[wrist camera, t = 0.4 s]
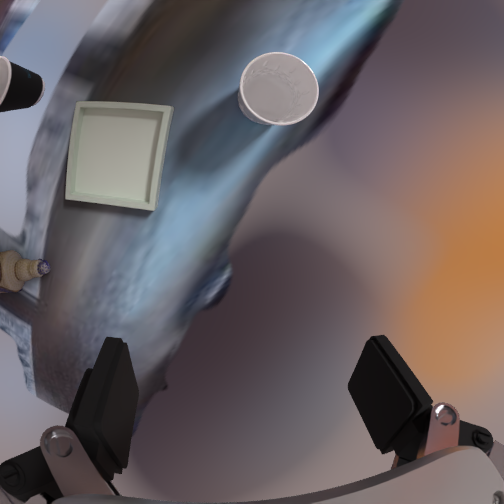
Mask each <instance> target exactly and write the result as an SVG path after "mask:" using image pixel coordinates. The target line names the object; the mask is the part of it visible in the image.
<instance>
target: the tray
mask: <svg viewBox="0 0 504 504" xmlns="http://www.w3.org/2000/svg"><path fill="white" fill-rule="evenodd" d="M173 110H174V108H173V107H172V106H164V105H154V104H142V103H127V102H100V101H76V107H75V112H74V118H73V124H72V130H71V137H70V145H69V154H68V164H67V177H66V198H65V199H68V200H76V201H84V202H92V203H100V204H108V205H115V206H123V207H130V208H137V209H145V210H152V211H155V209H156V208H157V206H158V198H159V190H160V183H161V176H162V170H163V164H164V157H165V152H166V146H167V140H168V135H169V130H170V125H171V120H172V115H173Z"/></svg>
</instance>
